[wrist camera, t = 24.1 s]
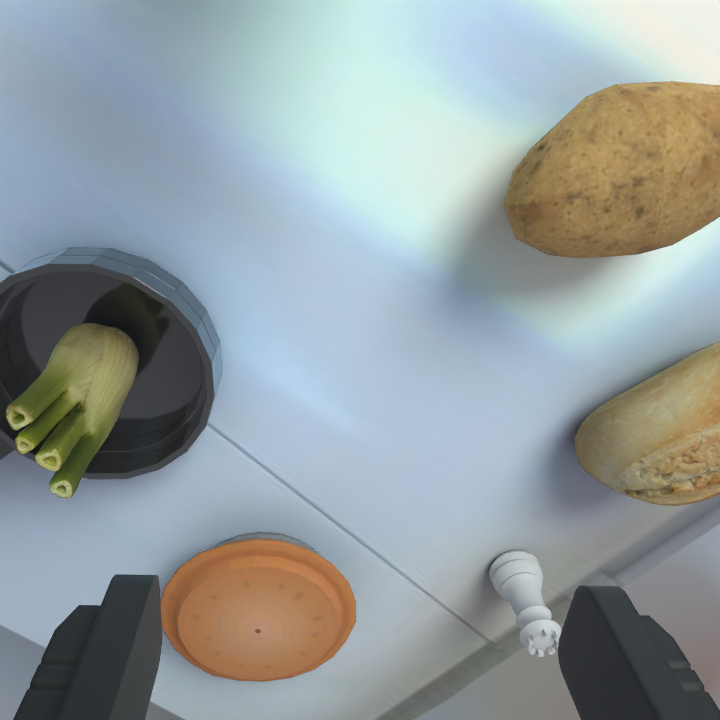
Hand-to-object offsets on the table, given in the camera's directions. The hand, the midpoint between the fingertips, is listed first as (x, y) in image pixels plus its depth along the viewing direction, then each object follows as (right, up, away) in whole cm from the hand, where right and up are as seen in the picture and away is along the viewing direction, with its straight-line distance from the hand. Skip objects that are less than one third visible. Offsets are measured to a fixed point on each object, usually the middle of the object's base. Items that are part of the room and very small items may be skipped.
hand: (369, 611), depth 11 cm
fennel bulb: (-17, +5, +29) cm, 34 cm away
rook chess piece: (+13, -13, +41) cm, 45 cm away
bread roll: (+23, +2, +35) cm, 41 cm away
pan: (-17, +5, +30) cm, 35 cm away
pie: (-8, -14, +40) cm, 43 cm away
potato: (+14, +17, +27) cm, 35 cm away
